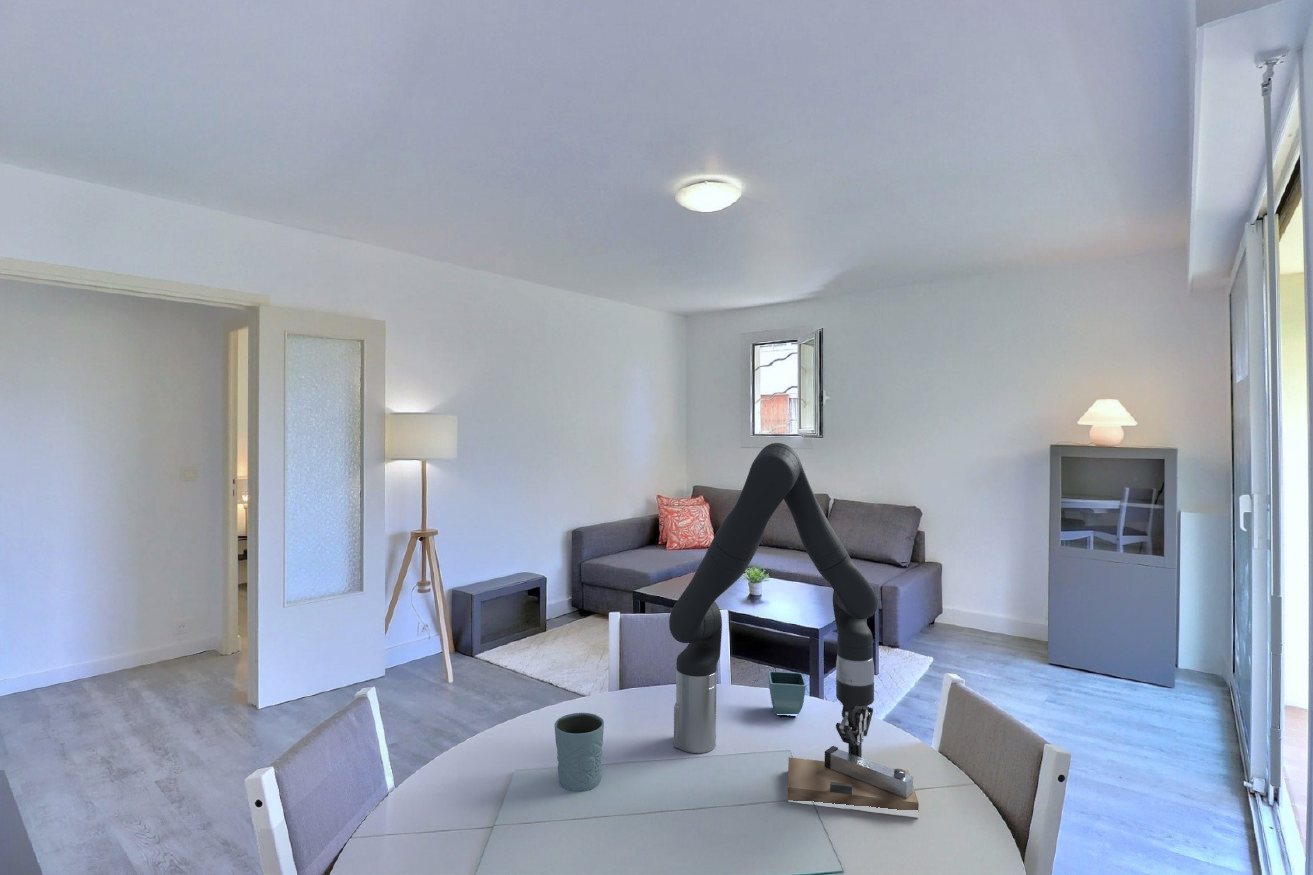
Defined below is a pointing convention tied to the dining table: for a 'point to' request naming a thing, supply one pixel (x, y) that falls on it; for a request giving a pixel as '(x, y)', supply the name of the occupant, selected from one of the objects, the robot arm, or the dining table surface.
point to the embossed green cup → (579, 751)
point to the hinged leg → (869, 772)
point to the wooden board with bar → (840, 787)
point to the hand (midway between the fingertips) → (855, 760)
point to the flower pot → (787, 692)
